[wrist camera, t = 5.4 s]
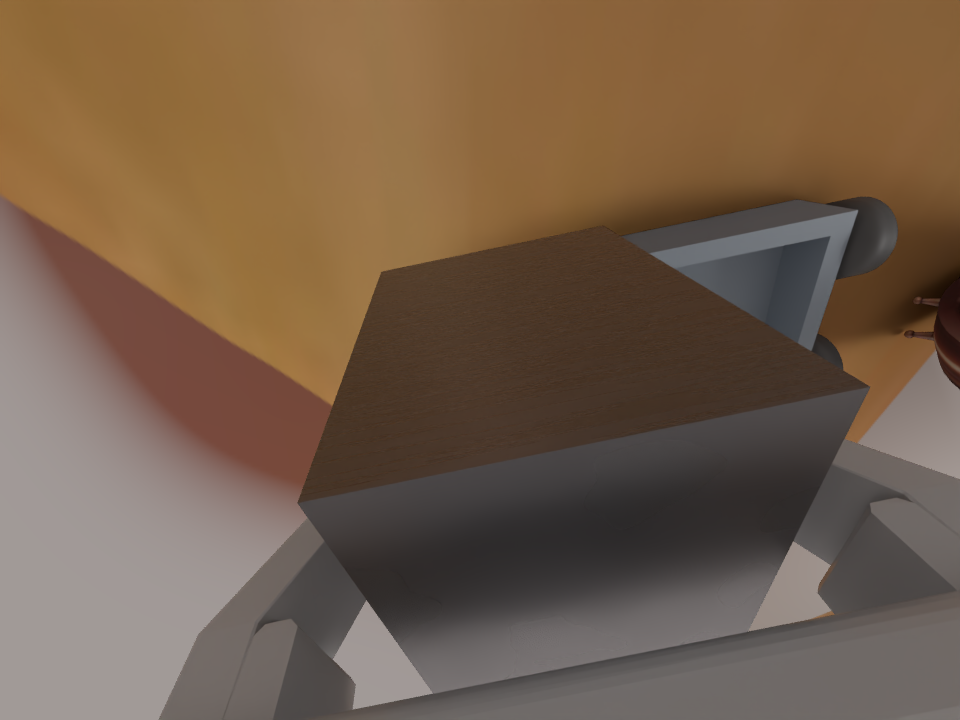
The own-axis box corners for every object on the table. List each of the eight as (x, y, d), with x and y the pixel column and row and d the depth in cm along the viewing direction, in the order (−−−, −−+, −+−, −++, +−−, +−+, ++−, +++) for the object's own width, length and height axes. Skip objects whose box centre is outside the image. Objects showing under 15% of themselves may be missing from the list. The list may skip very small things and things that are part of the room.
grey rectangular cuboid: (381, 271, 8) (296, 503, 3) (602, 225, 8) (869, 386, 3) (449, 477, 12) (460, 732, 7) (602, 446, 12) (722, 680, 7)
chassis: (582, 244, 21) (611, 265, 17) (832, 192, 20) (912, 202, 17) (588, 410, 27) (610, 450, 23) (780, 371, 27) (830, 405, 23)
